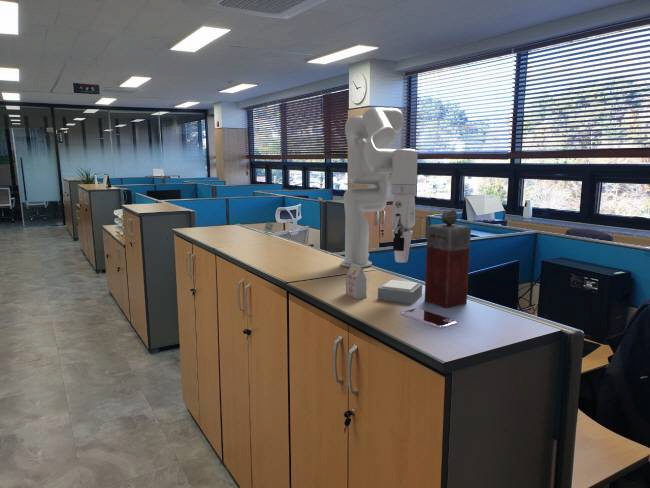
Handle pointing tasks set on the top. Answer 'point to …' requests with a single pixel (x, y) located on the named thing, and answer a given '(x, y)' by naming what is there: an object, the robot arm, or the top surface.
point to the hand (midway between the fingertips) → (401, 248)
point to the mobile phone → (429, 318)
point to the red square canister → (447, 262)
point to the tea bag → (356, 282)
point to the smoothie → (403, 255)
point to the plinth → (400, 291)
